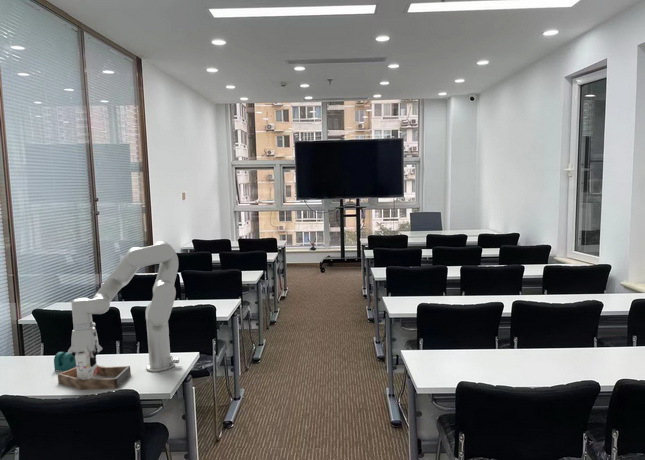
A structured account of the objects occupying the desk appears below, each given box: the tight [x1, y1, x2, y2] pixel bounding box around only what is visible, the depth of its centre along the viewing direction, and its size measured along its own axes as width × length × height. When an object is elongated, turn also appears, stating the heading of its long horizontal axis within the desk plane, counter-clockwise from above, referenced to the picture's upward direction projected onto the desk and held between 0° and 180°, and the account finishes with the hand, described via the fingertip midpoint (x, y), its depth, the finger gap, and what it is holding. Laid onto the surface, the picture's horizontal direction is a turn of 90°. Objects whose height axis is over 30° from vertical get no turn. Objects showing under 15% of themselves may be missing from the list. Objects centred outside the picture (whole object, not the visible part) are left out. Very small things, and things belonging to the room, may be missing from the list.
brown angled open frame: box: [57, 364, 132, 391], centre depth 204 cm, size 30×21×4 cm
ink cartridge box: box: [75, 347, 98, 380], centre depth 203 cm, size 9×5×15 cm, turn 179°
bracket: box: [53, 351, 76, 372], centre depth 225 cm, size 18×7×8 cm, turn 171°
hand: (86, 365), depth 203 cm, fingers closed on ink cartridge box, 5 cm apart
